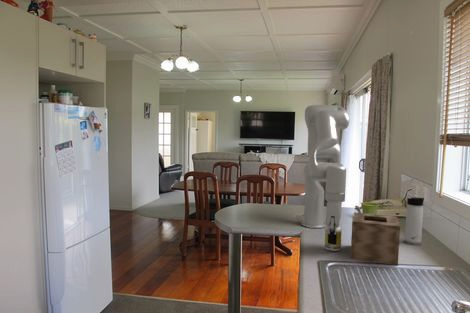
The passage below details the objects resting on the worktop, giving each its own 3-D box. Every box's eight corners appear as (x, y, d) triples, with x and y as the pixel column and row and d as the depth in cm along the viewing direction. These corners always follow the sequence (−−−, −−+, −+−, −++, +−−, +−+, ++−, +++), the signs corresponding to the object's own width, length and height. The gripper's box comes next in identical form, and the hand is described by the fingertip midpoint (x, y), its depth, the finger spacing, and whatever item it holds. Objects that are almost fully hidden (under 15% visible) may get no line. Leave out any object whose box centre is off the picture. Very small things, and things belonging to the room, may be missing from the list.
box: (350, 258, 129) (352, 221, 128) (352, 245, 144) (354, 212, 143) (397, 265, 124) (400, 226, 123) (395, 251, 139) (397, 216, 138)
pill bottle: (340, 247, 141) (342, 220, 140) (340, 252, 135) (341, 224, 134) (325, 245, 143) (326, 218, 142) (323, 250, 137) (325, 222, 136)
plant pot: (372, 222, 183) (373, 206, 183) (356, 218, 191) (357, 203, 190) (381, 220, 189) (382, 204, 189) (365, 216, 197) (366, 201, 196)
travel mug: (415, 246, 146) (418, 198, 144) (401, 241, 152) (404, 196, 150) (425, 244, 149) (427, 197, 147) (411, 239, 154) (413, 195, 153)
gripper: (327, 192, 146) (325, 233, 148) (322, 199, 130) (320, 246, 132) (346, 193, 143) (344, 236, 145) (343, 201, 127) (340, 249, 129)
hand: (332, 240), depth 138 cm, fingers closed on pill bottle, 6 cm apart
